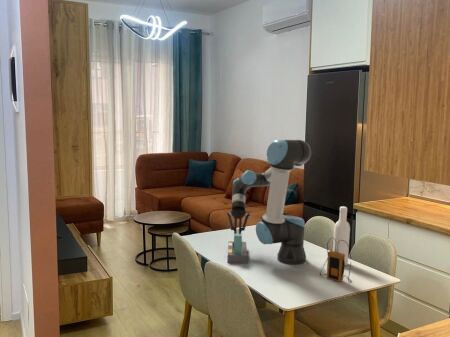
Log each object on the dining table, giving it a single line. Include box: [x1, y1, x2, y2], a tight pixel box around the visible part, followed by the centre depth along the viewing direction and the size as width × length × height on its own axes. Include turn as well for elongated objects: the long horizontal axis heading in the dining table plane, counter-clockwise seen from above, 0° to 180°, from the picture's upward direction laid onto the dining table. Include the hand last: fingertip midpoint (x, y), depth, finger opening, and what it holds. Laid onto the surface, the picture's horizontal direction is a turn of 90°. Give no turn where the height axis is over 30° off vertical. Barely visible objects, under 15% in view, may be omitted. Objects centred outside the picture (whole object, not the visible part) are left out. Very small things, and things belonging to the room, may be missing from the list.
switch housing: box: [226, 240, 248, 264], centre depth 238 cm, size 24×10×4 cm, turn 178°
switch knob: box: [233, 233, 243, 255], centre depth 231 cm, size 5×4×11 cm
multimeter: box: [319, 237, 352, 283], centre depth 209 cm, size 15×10×20 cm
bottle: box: [332, 206, 351, 266], centre depth 229 cm, size 8×8×30 cm
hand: (237, 241), depth 234 cm, fingers closed
